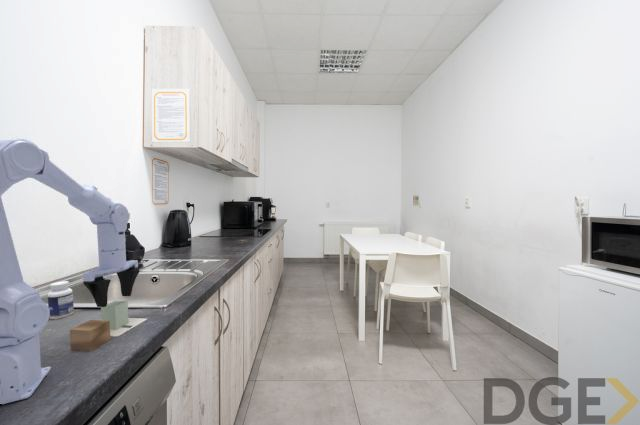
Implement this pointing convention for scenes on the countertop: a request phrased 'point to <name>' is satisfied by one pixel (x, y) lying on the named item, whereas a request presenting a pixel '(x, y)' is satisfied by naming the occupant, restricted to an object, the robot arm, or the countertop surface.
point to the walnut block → (90, 335)
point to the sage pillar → (116, 314)
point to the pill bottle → (60, 300)
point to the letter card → (127, 326)
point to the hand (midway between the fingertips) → (114, 300)
